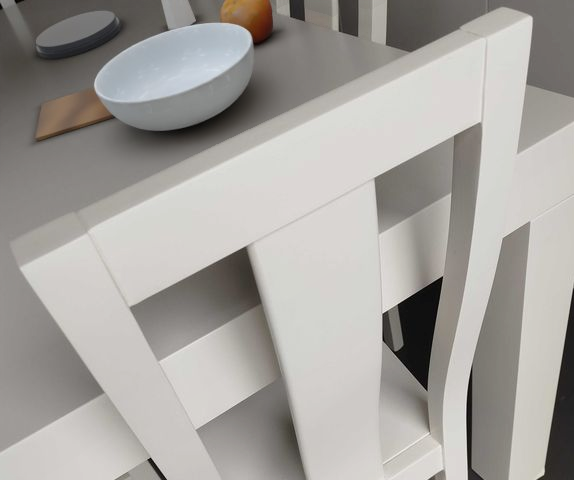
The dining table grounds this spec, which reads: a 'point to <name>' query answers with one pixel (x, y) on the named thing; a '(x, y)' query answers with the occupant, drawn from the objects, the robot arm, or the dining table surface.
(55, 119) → the square wooden coaster
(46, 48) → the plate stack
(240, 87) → the serving bowl
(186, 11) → the salt shaker
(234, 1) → the fruit
